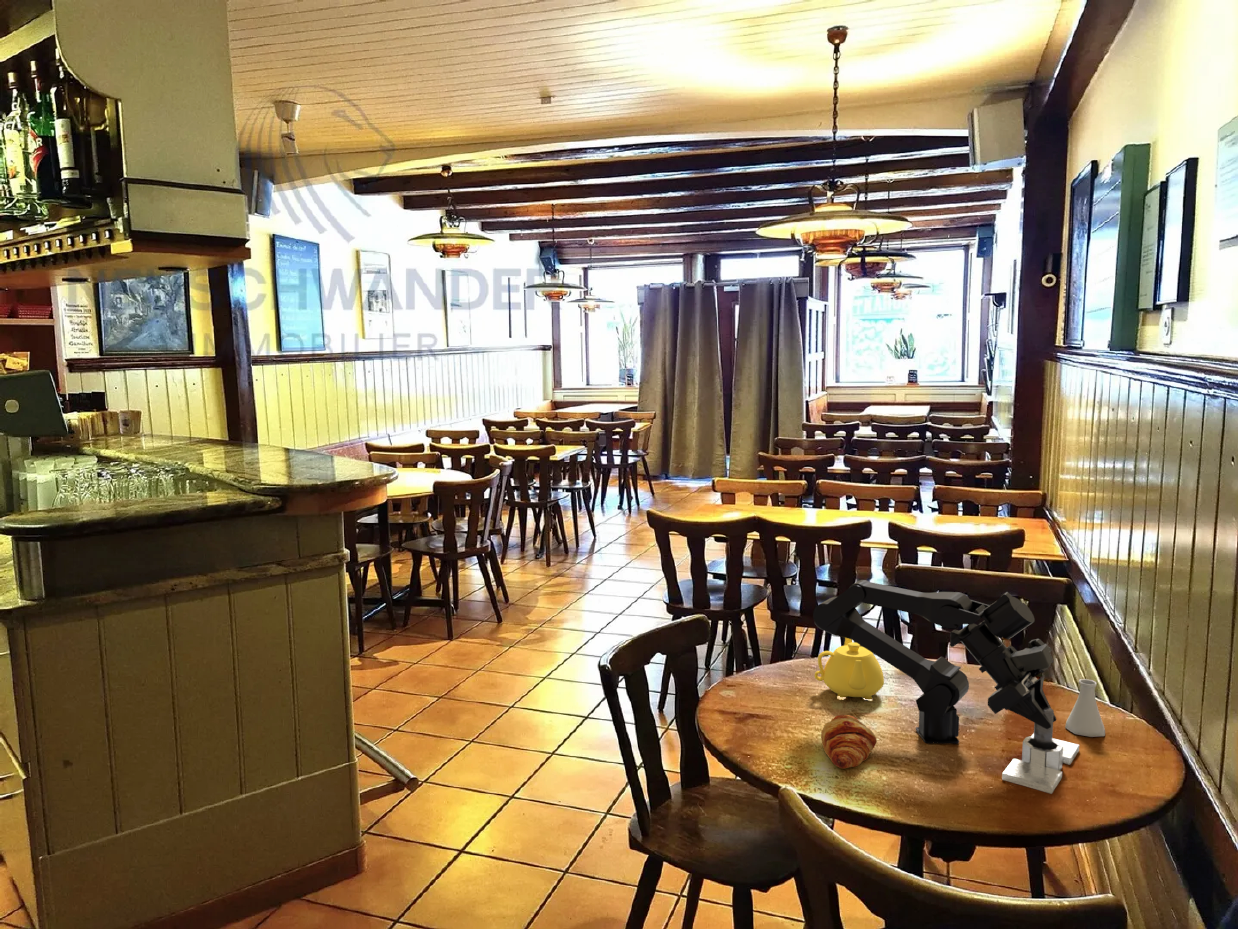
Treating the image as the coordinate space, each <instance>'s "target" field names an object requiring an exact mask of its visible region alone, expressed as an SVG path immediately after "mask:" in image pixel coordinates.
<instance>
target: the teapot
mask: <svg viewBox="0 0 1238 929" xmlns="http://www.w3.org/2000/svg"><path fill="white" fill-rule="evenodd" d="M824 656H829V658H828V659H827V661H826V663H825V664H824V667H823V662H822V661H823V660H822V659H823V657H824ZM817 664H818V665H817V666H818V668H819V670H816V671H815V672H814V679H815V680H816V681H819V682H823V683H824V685H826V686H827V688H828V689H829V690H830V691H832V692H833V693H834V694H836V695H838V696H840V697H847V698H848V697H852V698H862V697H863V698H865V699H872V698H873V697H872V696H873V695H876V694H877V693H879V691H880V690H881V689H882V688H883V687H884V684H885V678H884V671H883V670H882V667H881V665H880V663H879V660H878V659H877V658H876V655H875V654H873V653H872V652H870V651H869V650H867V649H866V648H864V647H863V646H861V645H859V644H858V643H856V642H855V641H853V640H851V639H849V638H844V644H843V645H841V646H838V647H836V649H835V650H834V651H831V650H824V651H821V652H820V653H819V654H818V656H817ZM818 675H820V676H818Z"/></svg>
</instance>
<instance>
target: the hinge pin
mask: <svg viewBox="0 0 1238 929" xmlns="http://www.w3.org/2000/svg"><path fill="white" fill-rule="evenodd" d="M1040 708H1041V709H1042V711H1043V712H1044V714H1045V715H1046V717H1047V718H1048V720H1049V721H1050V723H1051V725H1052V727H1050V728H1049V729H1046V728H1044V727H1042V726H1040V725H1038V724H1036V723H1034V722H1033V723H1034V725H1033V726H1034V727H1033V733H1034V741H1033V747H1036V748H1040V749H1044V750H1051V749H1052V738H1053V733H1054V732H1053V731H1054V730H1053V729H1054V722H1053V715H1055V713H1054V712H1055V711H1054V709H1053V708H1052V707H1051V708H1048V707H1043V706H1040Z"/></svg>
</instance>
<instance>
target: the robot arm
mask: <svg viewBox="0 0 1238 929" xmlns="http://www.w3.org/2000/svg"><path fill="white" fill-rule="evenodd" d="M861 604H866V605H870V606H871V605H872V606H876V607H881V608H885V609H891V610H894V611H895V610H896V611H898V612H899V611H900V612H905V613H909V614H914V615H917V616H920V617H922V618H924V619H925V620H927V621H928V622H929V623H932V624H934V625H938V626H940V627H943V628H945V629H947V630H952V631H950V640H949V642H950V643H949V647H950V648H951V647H952V648H953V647H955V646H956V645H958V644H959V643H960V642H961V644H963V646H964V647H965V648H966V649H967V650H968V651H969V653H970V654H971V655H972V657H973V658H974V659H975V660H976V661H977V662H978V664H979V665H980V667H979V668H978V670H979V671H980V673H982V674H983V673H985V672H986V673H987V674H988V676H989V677H990V679H992V680H993V682H995V683H996V685H995V686H994V689H995V690H996V691H994V692H993V693H991V695H990V696H989V697H988V698H987V706H988V708H989V709H990V710H991V712H993V713H994V715H996V714H999V713H1000V712H1001V711H1003V710H1005V711H1011V712H1013V713H1014V714H1017V715H1019V716H1021V717H1022V718H1025V719H1027V720H1029V721H1031V722H1032V723H1036V724H1038V725H1040V726H1042V727H1044V728H1046V729H1049V728H1050V727H1052V725H1051V723H1050V721H1049V720H1048V718H1047V717H1046V715H1045V714H1044V712H1043V711H1042V709H1041V708H1040V706H1043V707H1048V708H1051V709H1052V707H1051V705H1050V702H1049V701H1048V699H1047V697H1046V693H1045V692H1044V689H1043V688H1044V681H1045V676H1044V675H1042V676H1041V677H1039V678H1037V677H1036V676H1037V675H1039V674H1040V673H1042V674H1043V673H1044V672H1046V671H1047V670H1048V668H1050V667H1051V664H1054V662H1055V661H1054V659H1053V656H1052V654H1051V653H1052V651H1053V649H1052V648H1051V647H1050V646H1049V645H1048V643H1045V642H1043V641H1042V639H1040V638H1036V639H1031V640H1030V641H1029V642H1028V647H1025V648H1024V649H1022V650H1017V649H1016V648H1015V647H1014V646H1013V645H1008V646H1006V645H1005V644H1004V642H1003V641H1002V640H1001V639H1002V638H1004V639H1006V640H1010V639H1012V638H1013V637H1014V636H1016V635H1017V634H1019V633H1020V632H1021V631H1023V630H1024V629H1026V628H1027V627H1029V626H1030V625H1032V624H1033V623H1035V616H1034V614H1033V612H1032V610H1031V609H1030V607H1029V606H1028V605H1026V603H1025V602H1022V601H1021V600H1020V599H1019V598H1017V597H1015V596H1013V595H1011V593H1009V592H1008V591H1006V592H1005V593H1003V594H1002V595H1000V597H998V599H997V600H996V601H994V602H993V603H992V604H986V603H984V602H979V601H978V600H977V601H976V600H973V599H970V598H969V596H968V595H966V594H965V593H964V592H963V593H962V592H958V591H955V592H954V591H936V592H921V591H917V590H912V589H906V588H901V587H897V586H891V585H886V584H881V583H876V582H871V581H869V580H866V579H860V580H858V581H856V582H854V583H853V584H851V585H850V586H849V588H848V589H846V590H845V591H844V592H842V593H840V594H839V595H838V596H833V597H830V598H828V599H826V600H825V601H823V602H821V603H819V604H818V605H816V606H814V607H815V608H814V609H813V612H812V617H813V618H812V619H813V621H814V625H816V627H817V628H818V629H820V630H822V631H824V632H826V633H828V634H831V635H833V636H836V637H841V638H844V639H845V638H849V639H851V640H852V642H855V643H858V644H859V645H860V646H861V647H864V648H866V649H867V650H869V651H870V652H872V653H873V654H874V656H877V657H878V658H880V659H882V660H883V661H885V662H886V663H887V664H890V665H891V666H892V667H894V668H896V669H897V670H898V671H900V672H902V673H904V674H905V675H906V676H908V677H909V678H911V679H912V680H913V681H914V682H915V683H916V685H917V686H918V688H919V689H920V691H921V692H922V694H921V695H919V697H918V698H917V699H916V700H915V704H916V706H917V709H918V726H916V727H915V731H916V732H917V734H918V735H919V736H920V738H921V739H922V741H923V742H924V743H925V744H927V745H928V744H936V745H937V744H941V745H942V744H952V745H953V744H959V743H960V740H959V738H958V737H959V733H960V732H959V731H960V716H959V715H958V709H957V708H956V707H955V705H957V704H958V703H959V701H960V700H962V698H963V697H964V696H965V695H966V694H967V693H968V692H969V689H970V682H969V680H968V676H967V675H966V674H965V672H963V671H962V670H961V667H962V666H960V665H959V666H958V665H956V664H953V663H951V662H950V661H949V660H948V659H946V658H945V657H944V656H940V657H939V658H937V660H930V659H927V658H925V657H924V656H922V655H920V654H919V653H917V652H915V651H914V650H912V649H911V648H909V647H907V645H904V644H903V643H901V642H899V641H898V640H896V639H894V638H893V637H891V636H890V635H888V634H887V633H885V632H883V631H882V630H880V629H879V628H877V627H875V626H874V625H872V624H870V623H869V622H867V621H866V620H865V619H863V617H862V616H861V613H860V612H859V611H858V609H857V608H858V607H859V606H860V605H861ZM981 619H982V622H979V623H978V624H976V622H978V621H979V620H981ZM963 625H965V626H964V627H962V629H960V630H958V628H960V627H961V626H963ZM1056 721H1057V717H1056V715H1055V714H1054V715H1053V723H1055V722H1056Z"/></svg>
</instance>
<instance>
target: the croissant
mask: <svg viewBox="0 0 1238 929" xmlns="http://www.w3.org/2000/svg"><path fill="white" fill-rule="evenodd" d="M820 739H821V744H822V748H823V750H824V753H825V754H826V755H827V757H828V758H829V759H830V761H831V763H832V764H833V765H834V766H836V768H839V769H843V770H845V769H848V768H856V767H859V766H860V765H861V764H862V762H863V761H866V760H867V759H868V757H869V756H870V753H871V752H873V750H874V748H875V746H876V745H877V742H878V740H877V737H876V735H875V733H874V732H873V730H872V729H870V728H869V727H867V725H866V724H865V723H862V722H861V721H860V720H859V719H858V718H857V717H854V716H852V715H851V714H850V715H849V714H840V715H834V717H833V718H831V720H829V721H828V722H826V723H825V724H824V725H823V727H822V730H821V732H820Z"/></svg>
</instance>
